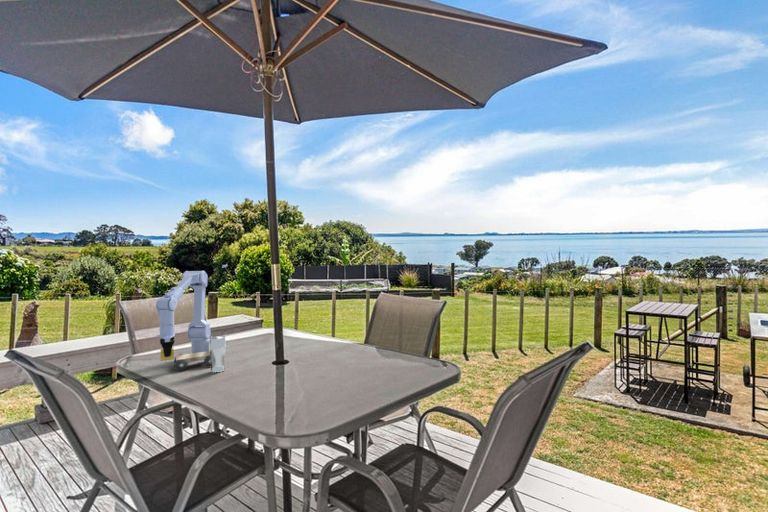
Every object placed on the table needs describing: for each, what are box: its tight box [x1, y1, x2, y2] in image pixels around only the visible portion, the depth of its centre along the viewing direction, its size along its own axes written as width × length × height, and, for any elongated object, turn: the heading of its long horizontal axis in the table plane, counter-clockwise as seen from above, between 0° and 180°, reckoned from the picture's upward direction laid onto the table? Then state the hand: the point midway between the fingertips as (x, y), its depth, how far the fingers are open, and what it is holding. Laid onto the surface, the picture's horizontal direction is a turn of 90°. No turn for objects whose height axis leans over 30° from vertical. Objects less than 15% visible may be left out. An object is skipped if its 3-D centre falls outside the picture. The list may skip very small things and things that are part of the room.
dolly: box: [173, 351, 211, 372], centre depth 182 cm, size 17×12×10 cm
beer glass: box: [208, 335, 227, 374], centre depth 173 cm, size 7×7×15 cm
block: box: [160, 346, 175, 362], centre depth 172 cm, size 5×4×4 cm
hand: (167, 355), depth 172 cm, fingers closed on block, 4 cm apart
